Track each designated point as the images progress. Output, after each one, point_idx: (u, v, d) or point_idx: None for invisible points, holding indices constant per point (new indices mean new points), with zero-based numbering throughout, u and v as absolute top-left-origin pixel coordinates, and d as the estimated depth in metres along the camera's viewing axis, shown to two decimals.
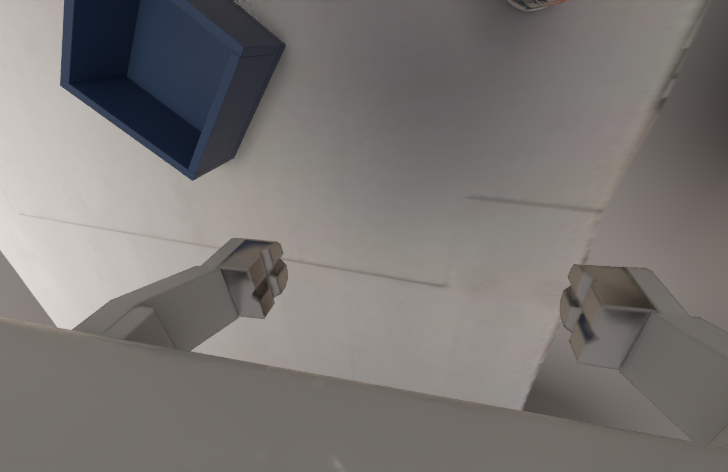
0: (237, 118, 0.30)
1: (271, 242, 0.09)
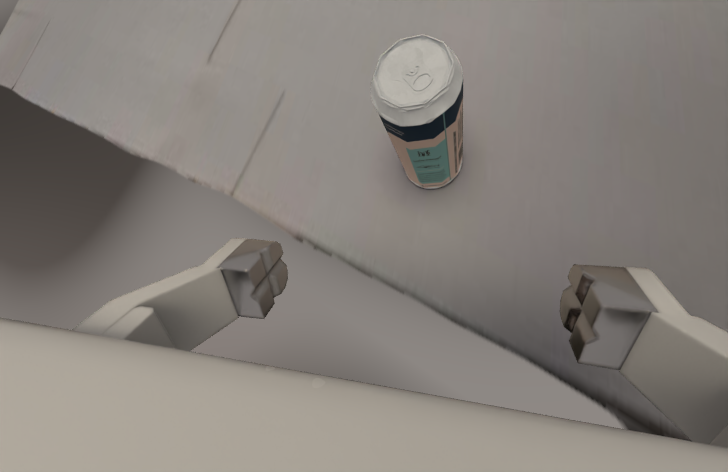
0: None
1: (271, 242, 0.09)
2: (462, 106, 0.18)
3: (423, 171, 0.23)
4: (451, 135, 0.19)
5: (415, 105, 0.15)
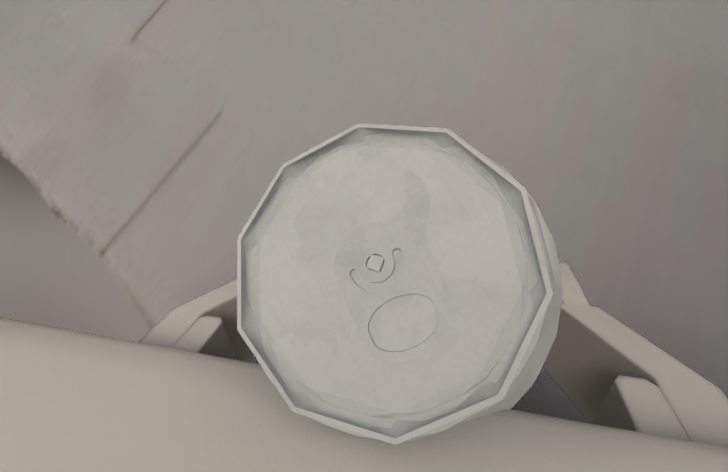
0: None
1: None
2: None
3: None
4: None
5: (352, 429, 0.04)
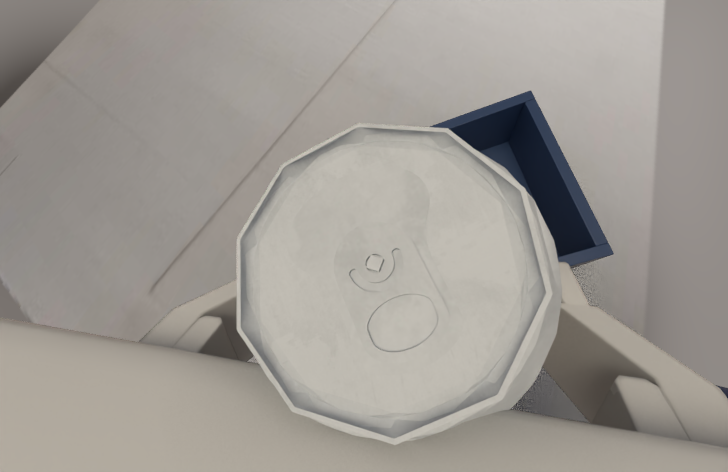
0: None
1: None
2: None
3: None
4: None
5: (352, 429, 0.04)
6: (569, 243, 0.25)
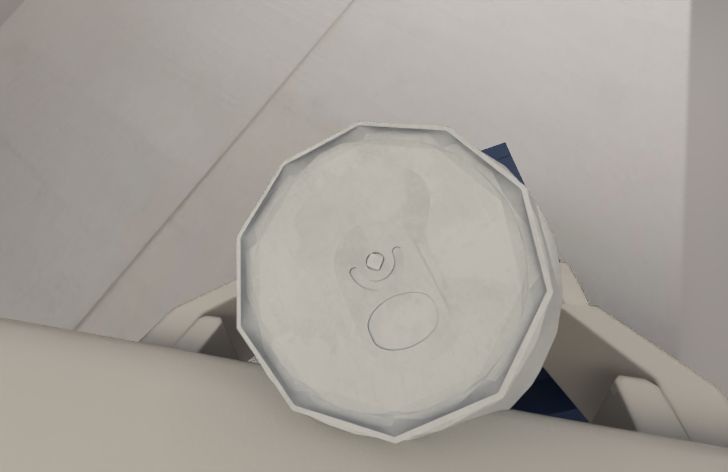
0: None
1: None
2: None
3: None
4: None
5: (352, 427, 0.04)
6: None
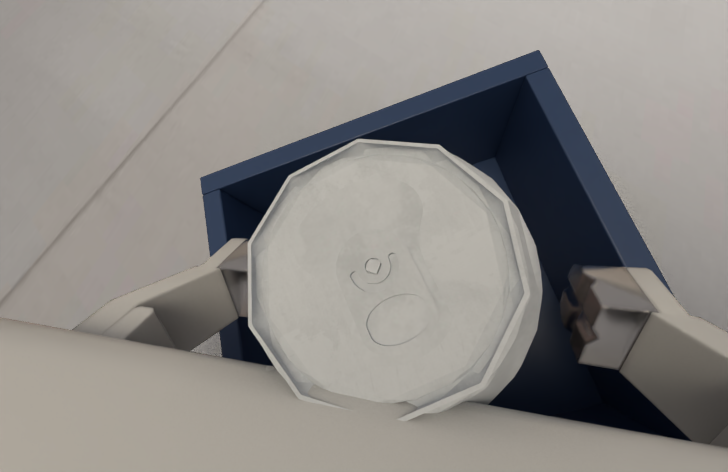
0: None
1: None
2: None
3: None
4: None
5: None
6: (625, 391, 0.11)
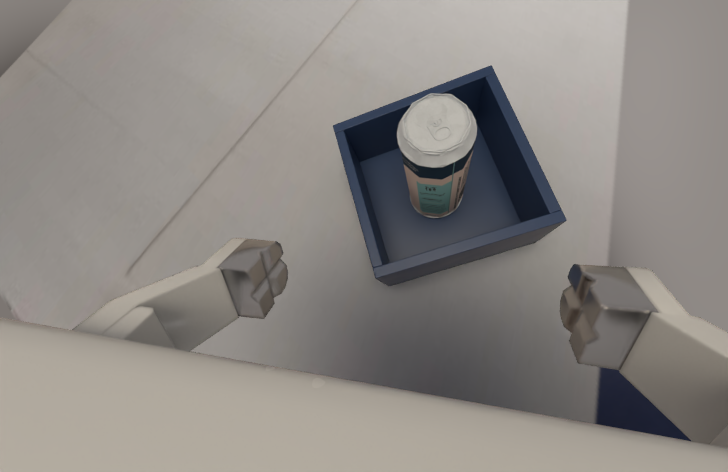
0: None
1: (271, 242, 0.09)
2: None
3: (426, 202, 0.26)
4: (457, 179, 0.22)
5: (432, 151, 0.18)
6: (529, 214, 0.25)
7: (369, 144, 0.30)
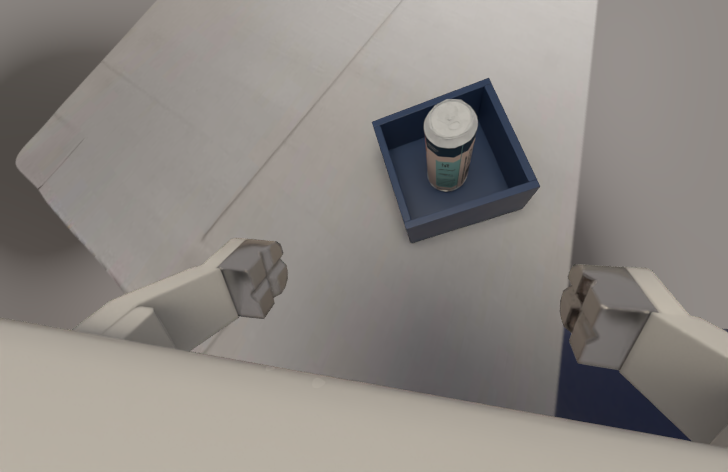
0: None
1: (271, 242, 0.09)
2: (473, 142, 0.31)
3: (441, 177, 0.35)
4: (464, 158, 0.31)
5: (448, 137, 0.28)
6: (516, 186, 0.35)
7: (396, 136, 0.39)
